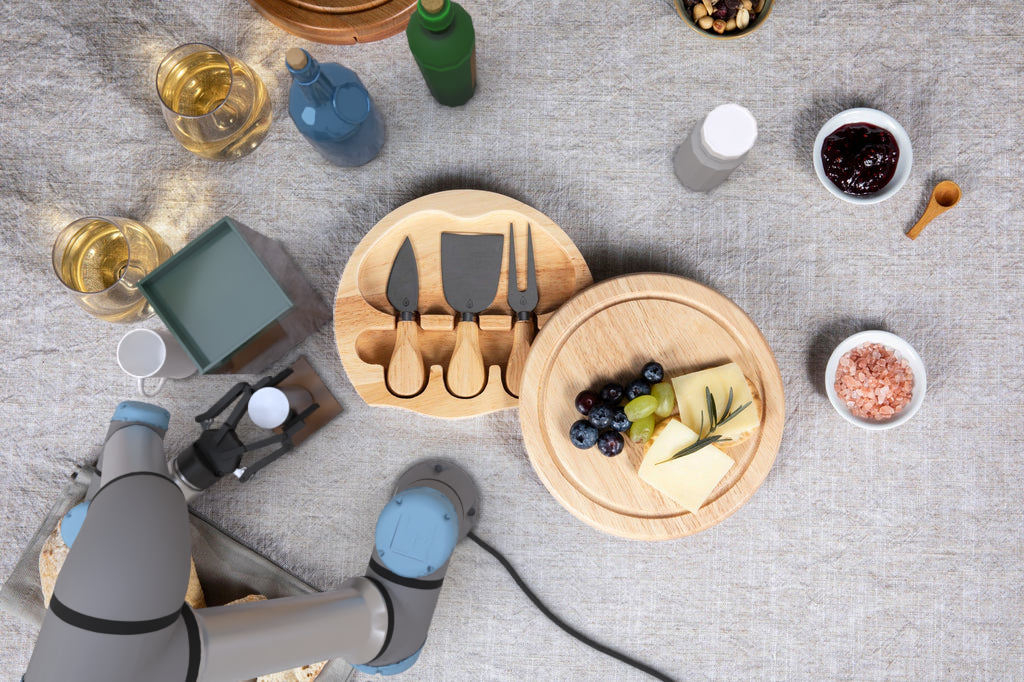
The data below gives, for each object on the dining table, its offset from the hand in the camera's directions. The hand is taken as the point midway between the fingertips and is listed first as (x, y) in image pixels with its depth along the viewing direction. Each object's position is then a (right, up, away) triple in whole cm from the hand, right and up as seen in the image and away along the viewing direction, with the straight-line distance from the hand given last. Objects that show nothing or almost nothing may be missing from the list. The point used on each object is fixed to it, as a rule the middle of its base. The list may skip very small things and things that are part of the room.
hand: (303, 387), depth 110 cm
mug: (-26, +4, +10) cm, 28 cm away
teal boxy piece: (-9, +14, +10) cm, 19 cm away
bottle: (+24, +54, +11) cm, 60 cm away
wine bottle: (+6, +45, +11) cm, 47 cm away
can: (-4, -3, +7) cm, 9 cm away
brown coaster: (-4, -3, +9) cm, 10 cm away
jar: (+68, +39, +10) cm, 79 cm away
